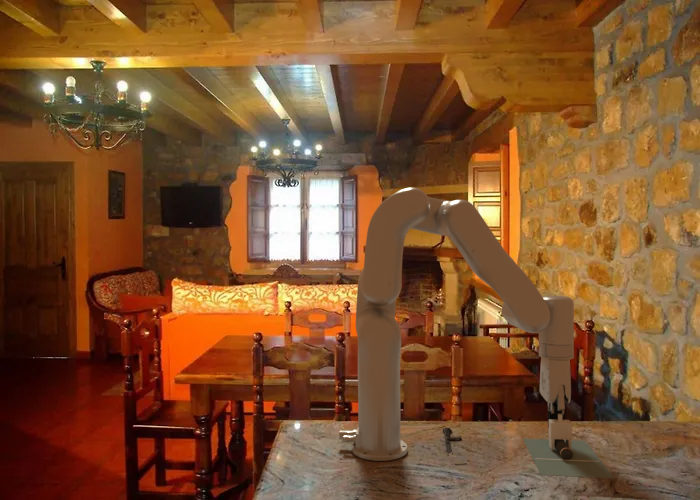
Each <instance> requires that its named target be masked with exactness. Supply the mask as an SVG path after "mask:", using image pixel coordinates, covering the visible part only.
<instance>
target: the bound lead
mask: <svg viewBox="0 0 700 500" xmlns="http://www.w3.org/2000/svg"><path fill="white" fill-rule="evenodd" d="M554 445H555V447H556V449H557V450H558V452H559V453H560V455H561V457H562V458H563V459H564V460H570V459H572V457H573V452H572V451H571V449H570V448H569V447H568V445H567V444H566V442H565V441H564V439H554Z"/></svg>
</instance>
